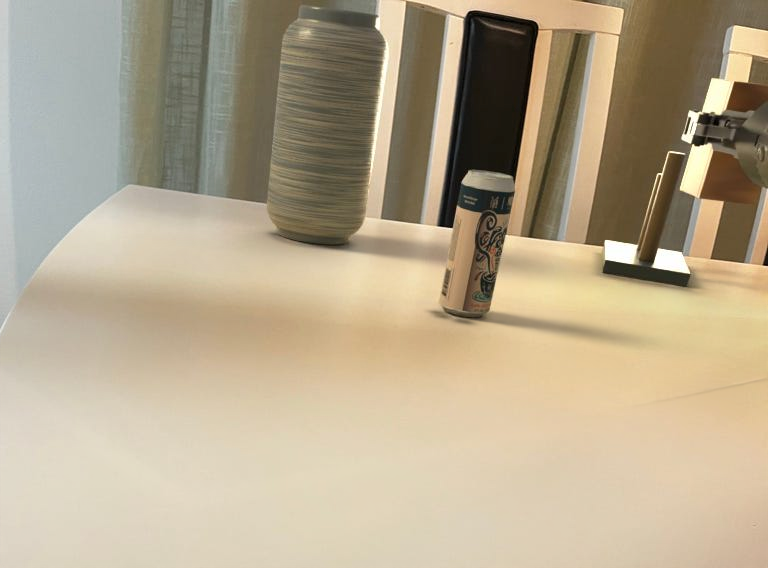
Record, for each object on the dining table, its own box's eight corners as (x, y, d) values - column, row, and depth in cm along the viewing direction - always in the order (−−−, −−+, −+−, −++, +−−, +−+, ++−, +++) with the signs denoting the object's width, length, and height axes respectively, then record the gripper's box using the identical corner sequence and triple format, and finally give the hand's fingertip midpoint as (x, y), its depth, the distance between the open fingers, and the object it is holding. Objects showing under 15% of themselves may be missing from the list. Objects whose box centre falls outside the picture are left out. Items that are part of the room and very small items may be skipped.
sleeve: (732, 196, 102) (767, 85, 97) (754, 205, 97) (793, 88, 92) (679, 190, 102) (711, 77, 97) (699, 198, 97) (734, 81, 92)
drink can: (476, 321, 92) (506, 180, 86) (429, 310, 94) (455, 170, 88) (495, 314, 96) (525, 177, 89) (450, 302, 98) (476, 168, 91)
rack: (678, 264, 133) (712, 152, 126) (686, 287, 119) (725, 162, 112) (602, 251, 134) (631, 140, 127) (602, 272, 121) (634, 149, 114)
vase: (306, 249, 112) (335, 8, 100) (244, 227, 119) (264, -1, 107) (381, 246, 119) (416, 20, 107) (318, 225, 126) (344, 11, 114)
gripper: (904, 106, 83) (811, 93, 97) (736, 85, 82) (667, 75, 96) (866, 204, 87) (782, 177, 101) (706, 185, 86) (644, 160, 100)
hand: (726, 127), depth 99 cm, fingers closed on sleeve, 5 cm apart
